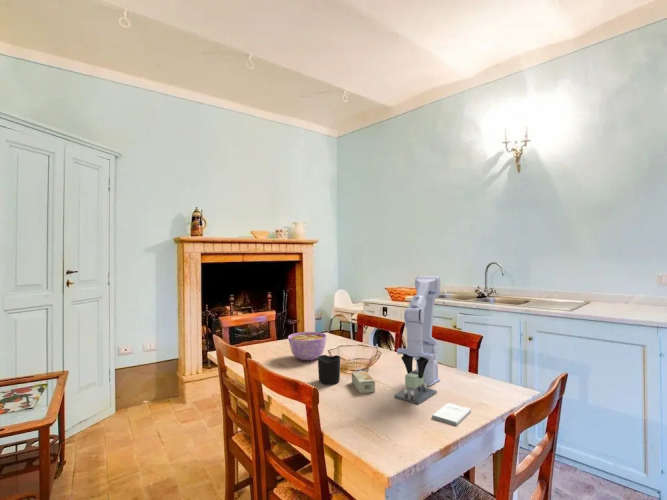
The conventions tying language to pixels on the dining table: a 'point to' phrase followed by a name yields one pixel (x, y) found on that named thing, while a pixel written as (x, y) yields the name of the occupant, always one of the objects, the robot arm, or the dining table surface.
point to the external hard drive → (451, 414)
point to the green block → (413, 379)
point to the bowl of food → (307, 344)
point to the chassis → (416, 394)
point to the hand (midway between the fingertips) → (415, 376)
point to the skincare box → (363, 382)
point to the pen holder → (329, 369)
